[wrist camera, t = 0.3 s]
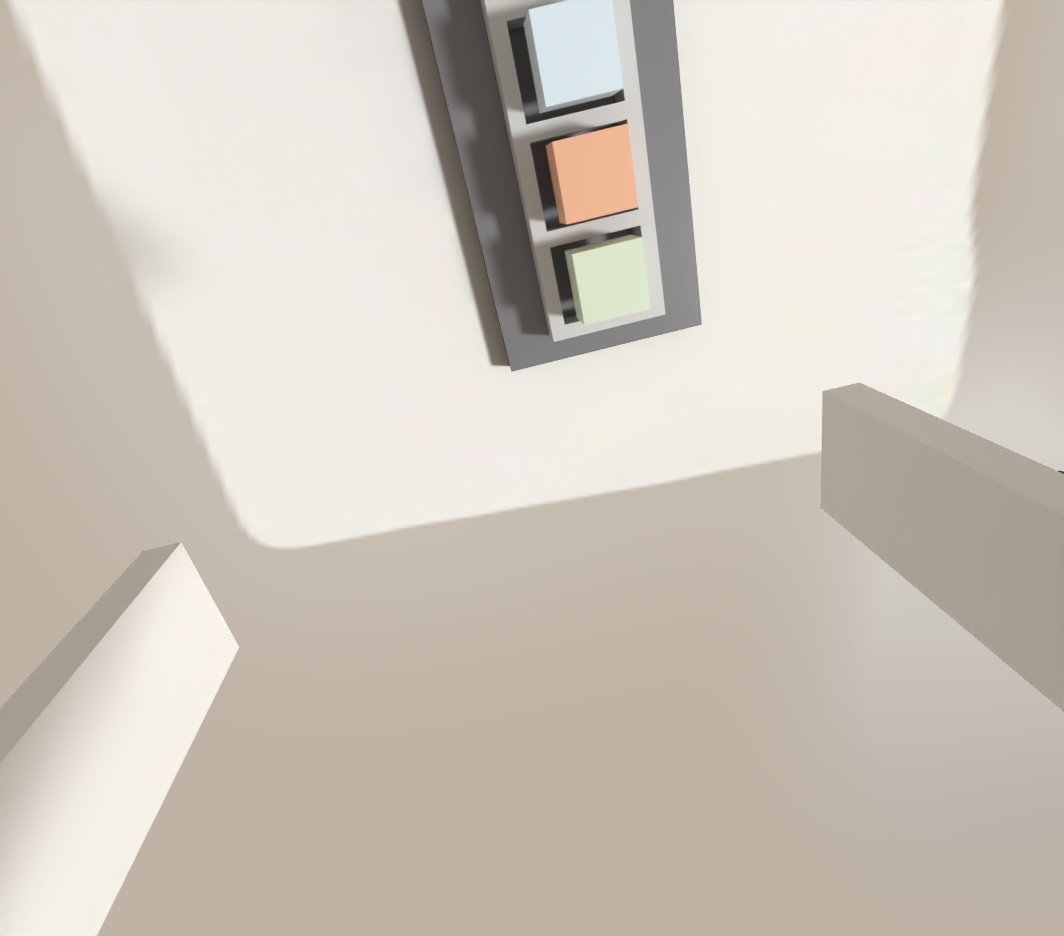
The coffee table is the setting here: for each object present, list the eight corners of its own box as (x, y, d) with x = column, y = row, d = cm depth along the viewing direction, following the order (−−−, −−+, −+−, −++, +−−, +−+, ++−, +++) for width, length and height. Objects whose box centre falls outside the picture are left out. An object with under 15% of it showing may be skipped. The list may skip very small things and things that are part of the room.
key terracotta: (545, 145, 29) (552, 141, 27) (616, 128, 29) (627, 123, 27) (559, 222, 30) (566, 224, 28) (626, 206, 30) (638, 207, 28)
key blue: (523, 23, 27) (528, 9, 25) (599, 5, 27) (611, -11, 25) (539, 113, 28) (546, 107, 26) (611, 96, 28) (623, 88, 26)
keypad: (387, -142, 26) (379, -181, 23) (645, -203, 26) (667, -249, 24) (510, 366, 37) (514, 379, 34) (694, 320, 37) (713, 330, 34)
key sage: (564, 250, 31) (572, 254, 29) (630, 234, 31) (642, 237, 29) (576, 317, 32) (584, 325, 30) (639, 302, 32) (651, 308, 30)
